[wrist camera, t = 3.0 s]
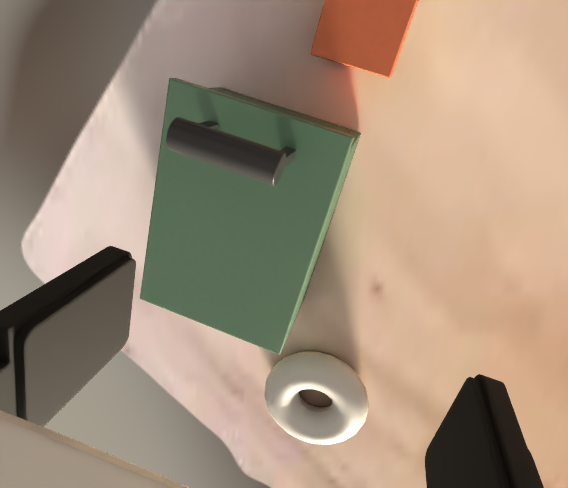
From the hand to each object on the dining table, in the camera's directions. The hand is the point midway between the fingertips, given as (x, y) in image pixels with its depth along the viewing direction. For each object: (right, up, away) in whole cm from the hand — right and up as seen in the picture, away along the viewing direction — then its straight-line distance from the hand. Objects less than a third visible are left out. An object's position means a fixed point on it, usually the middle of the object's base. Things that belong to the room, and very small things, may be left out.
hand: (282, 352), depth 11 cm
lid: (-3, +4, +17) cm, 18 cm away
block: (+6, +18, +17) cm, 25 cm away
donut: (+3, -11, +30) cm, 32 cm away
